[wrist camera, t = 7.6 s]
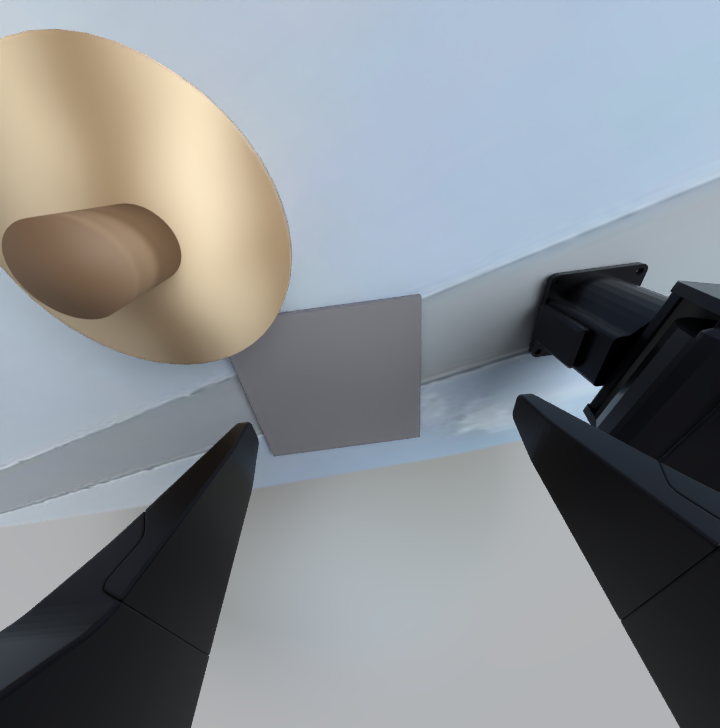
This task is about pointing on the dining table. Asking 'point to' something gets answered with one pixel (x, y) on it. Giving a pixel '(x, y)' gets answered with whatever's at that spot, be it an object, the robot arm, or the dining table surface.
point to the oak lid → (134, 202)
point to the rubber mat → (336, 375)
